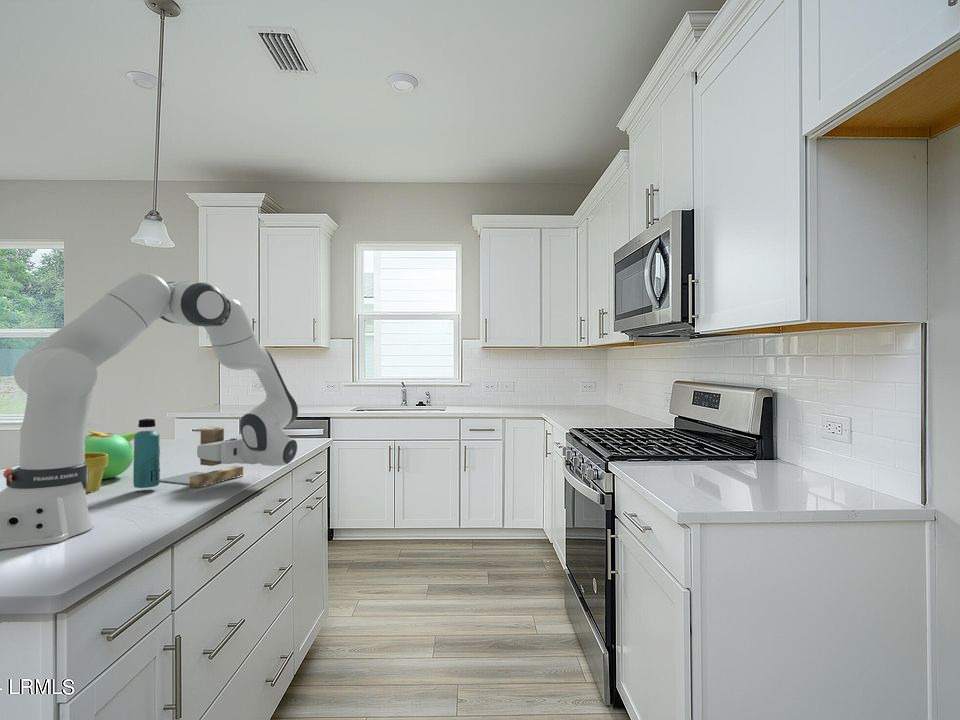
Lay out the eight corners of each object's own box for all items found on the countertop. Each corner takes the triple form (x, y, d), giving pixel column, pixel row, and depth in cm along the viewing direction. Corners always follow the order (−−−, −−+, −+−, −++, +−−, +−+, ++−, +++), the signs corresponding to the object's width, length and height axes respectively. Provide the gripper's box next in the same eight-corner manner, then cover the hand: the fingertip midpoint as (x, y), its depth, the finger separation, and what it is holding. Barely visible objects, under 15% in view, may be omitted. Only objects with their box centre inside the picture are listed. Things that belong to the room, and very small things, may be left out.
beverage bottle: (151, 493, 154) (152, 420, 154) (126, 493, 154) (128, 420, 154) (164, 488, 161) (165, 417, 161) (141, 487, 161) (142, 417, 161)
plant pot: (97, 494, 153) (98, 458, 153) (54, 495, 150) (54, 459, 150) (113, 486, 163) (114, 452, 163) (73, 487, 160) (73, 452, 160)
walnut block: (212, 465, 169) (212, 429, 169) (200, 464, 170) (200, 428, 170) (223, 463, 173) (223, 427, 173) (211, 462, 175) (212, 426, 174)
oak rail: (197, 488, 162) (197, 477, 162) (189, 487, 163) (189, 476, 163) (243, 476, 179) (243, 466, 179) (235, 475, 180) (235, 465, 180)
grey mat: (193, 485, 165) (193, 484, 165) (157, 481, 169) (157, 480, 169) (229, 476, 178) (229, 475, 178) (194, 472, 183) (194, 471, 183)
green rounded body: (52, 481, 167) (53, 431, 167) (105, 471, 183) (106, 425, 183) (98, 486, 162) (99, 435, 162) (148, 475, 178) (149, 428, 178)
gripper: (270, 433, 177) (235, 431, 182) (220, 442, 158) (182, 439, 162) (270, 453, 177) (234, 450, 182) (220, 465, 158) (182, 461, 162)
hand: (209, 445), depth 172 cm, fingers closed on walnut block, 4 cm apart
